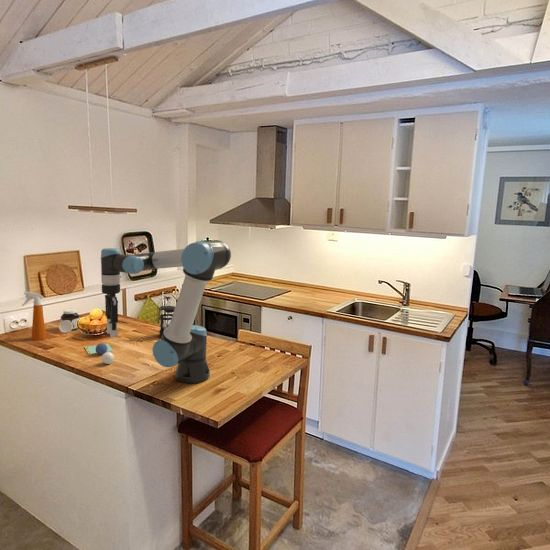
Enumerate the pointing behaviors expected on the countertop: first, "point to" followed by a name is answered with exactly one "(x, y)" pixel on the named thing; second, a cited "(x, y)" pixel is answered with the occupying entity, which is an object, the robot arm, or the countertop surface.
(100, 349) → the object ball
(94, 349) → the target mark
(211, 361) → the countertop surface
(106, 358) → the cue ball
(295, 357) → the countertop surface
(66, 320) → the spread jar
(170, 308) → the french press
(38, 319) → the spray bottle
